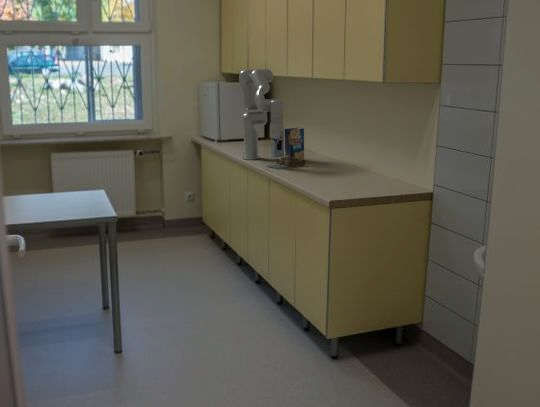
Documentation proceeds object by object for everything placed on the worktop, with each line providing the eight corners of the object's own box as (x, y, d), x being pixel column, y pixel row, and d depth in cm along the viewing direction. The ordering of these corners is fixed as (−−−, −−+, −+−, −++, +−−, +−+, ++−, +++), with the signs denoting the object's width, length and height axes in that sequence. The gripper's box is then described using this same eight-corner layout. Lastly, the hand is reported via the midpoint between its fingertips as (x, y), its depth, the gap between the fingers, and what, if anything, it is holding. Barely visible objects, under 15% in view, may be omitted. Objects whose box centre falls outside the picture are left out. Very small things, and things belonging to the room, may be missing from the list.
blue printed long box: (304, 161, 402) (304, 128, 396) (290, 163, 396) (290, 129, 391) (298, 159, 407) (297, 127, 402) (285, 161, 401) (284, 128, 396)
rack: (276, 163, 391) (276, 158, 390) (290, 162, 397) (290, 156, 396) (290, 167, 378) (290, 162, 377) (305, 165, 384) (305, 160, 383)
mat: (267, 166, 382) (267, 166, 382) (278, 165, 387) (278, 164, 387) (277, 169, 372) (277, 168, 372) (288, 167, 377) (288, 167, 377)
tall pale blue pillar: (271, 157, 377) (271, 141, 375) (280, 155, 381) (280, 140, 379) (274, 157, 375) (274, 141, 372) (283, 156, 378) (283, 140, 376)
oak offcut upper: (280, 160, 390) (280, 157, 390) (285, 159, 395) (285, 156, 395) (285, 161, 388) (285, 158, 388) (290, 160, 393) (290, 157, 392)
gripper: (264, 119, 377) (265, 148, 382) (279, 121, 364) (280, 151, 368) (274, 119, 381) (275, 147, 386) (289, 120, 368) (290, 150, 372)
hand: (277, 149), depth 377 cm, fingers closed on tall pale blue pillar, 3 cm apart
